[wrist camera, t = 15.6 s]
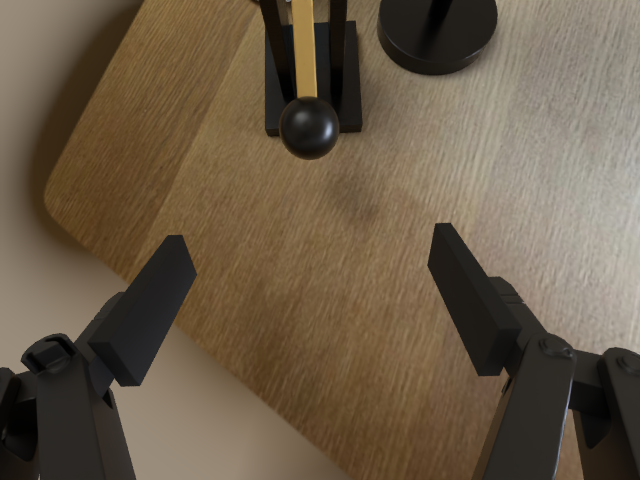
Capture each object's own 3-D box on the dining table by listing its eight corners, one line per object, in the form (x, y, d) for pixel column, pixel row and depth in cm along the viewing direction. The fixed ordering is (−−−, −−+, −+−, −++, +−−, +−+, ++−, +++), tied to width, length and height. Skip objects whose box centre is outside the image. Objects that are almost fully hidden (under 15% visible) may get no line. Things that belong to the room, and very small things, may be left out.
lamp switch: (338, 156, 20) (341, 160, 17) (285, 159, 20) (277, 163, 17) (332, -99, 16) (333, -163, 13) (265, -94, 16) (249, -156, 13)
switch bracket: (361, 132, 26) (393, -52, 12) (267, 136, 26) (197, -39, 12) (354, 31, 27) (377, -226, 14) (267, 37, 28) (206, -211, 14)
